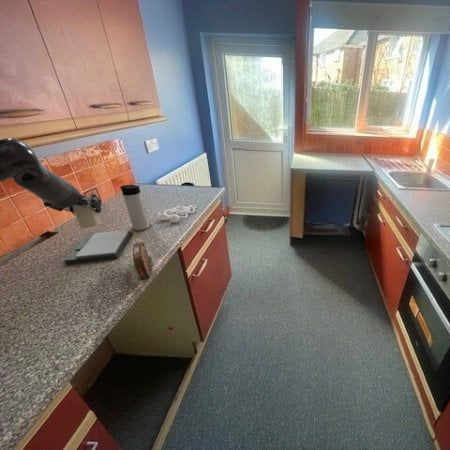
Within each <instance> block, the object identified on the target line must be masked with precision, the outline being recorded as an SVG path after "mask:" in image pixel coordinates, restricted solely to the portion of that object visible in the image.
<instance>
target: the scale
mask: <svg viewBox="0 0 450 450" xmlns="http://www.w3.org/2000/svg"><path fill="white" fill-rule="evenodd" d="M132 234H133V233H132V231H131V230H128V229H127V230H117V231H115V230H114V231H105V232H95V233H87V234H86V236H85V237H84V238H83V239H82V240H81V241H80V242H79V243H78V244H77V246H76V247H75V248H74V249H73V250H72V251H71V252H70V253H69V255H67V256H66V258H64V260H63V262H64V263H65V265H72V264H80V263H90V262H91V263H92V262H99V261H108V260H116V259H118V258H119V256H120V254H121V253H122V251H123V249H124V248H125V246H126V244H127V243H128V241H129V240H130V237H131V236H132Z"/></svg>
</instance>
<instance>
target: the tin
mask: <svg viewBox="0 0 450 450" xmlns="http://www.w3.org/2000/svg"><path fill="white" fill-rule="evenodd" d="M144 243H145V242H144V241H140V242H137V243H134V244H133V246H132V259H133V264H134V267H135V270H136V271H137V274H138V276H139V278H140V279H144V278H148V277H151V275H150V274H149V260H150V258H149V257H150V256H149V253H148V251H147V248H146V246H145V244H144Z"/></svg>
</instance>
